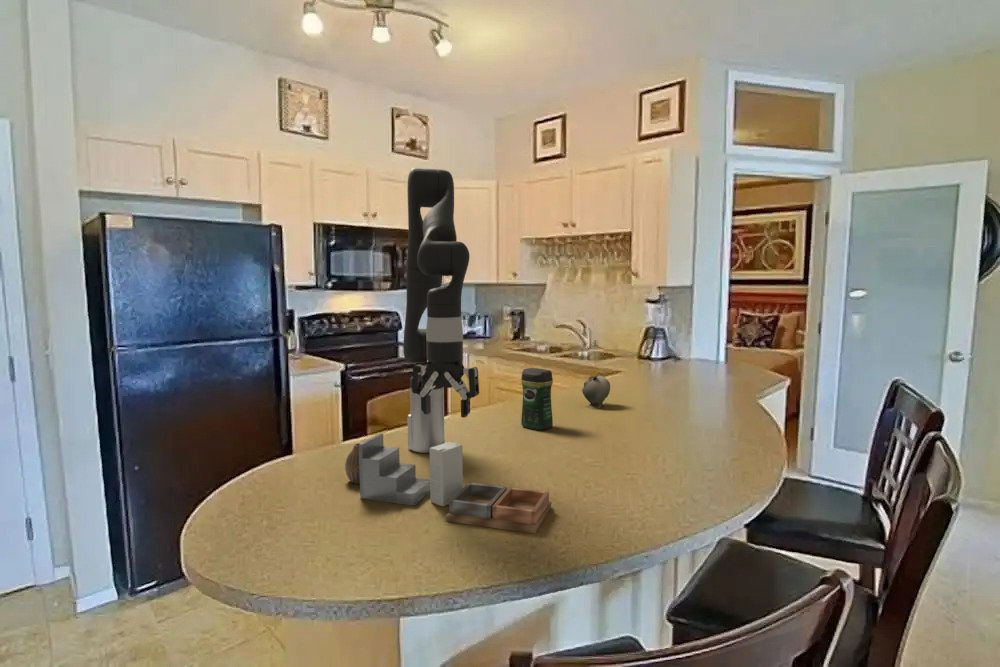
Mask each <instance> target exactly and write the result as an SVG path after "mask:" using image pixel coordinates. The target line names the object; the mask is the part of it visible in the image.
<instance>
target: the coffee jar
mask: <svg viewBox="0 0 1000 667" xmlns="http://www.w3.org/2000/svg"><path fill="white" fill-rule="evenodd" d="M553 378H554V377H553V373H552V371H551V370H548V369H543V368H538V367H537V368H536V367H530V368H523V370H522V373H521V378H520V379H521V381H520V382H521V386H522V406H521V420H520V423H521V426H522V427H523V428H527V429H531V430H537V431H540V430H548V429H551V428H552V427H553V424H554V422H553V420H554V419H553V409H552V394H551V393H552V386H553V383H554V379H553Z"/></svg>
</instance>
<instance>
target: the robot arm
mask: <svg viewBox="0 0 1000 667" xmlns="http://www.w3.org/2000/svg"><path fill="white" fill-rule="evenodd" d="M422 208H430V209H429V210H428V212H427V213H426V214H425V216H424V218H423V216H422V214H421V213H422V212H421V209H422ZM454 214H455V184H454V178H453V175H452V173H451V172H450V171H449V170H446V169H439V168H438V169H437V168H436V169H435V168H423V167H421V168H420V167H413V168H411V169H410V171H409V173H408V176H407V217H408V218H407V219H408V220H407V221H408V222H407V224H408V226H407V227H408V234H407V235H408V240H407V256H406V257H407V258H406V307H405V308H406V309H405V319H404V320H405V321H404V322H405V323H404V332H403V344H402V345H403V349H402V350H403V356H404V359H405V361H406V362H407V363H410V364H417V365H414V366H413V367H412V376H411V377H410V378H409V398H410V399H409V402H410V403H409V405H410V406H409V407H410V409H409V410H410V412H409V413H410V414H407V416H406V417H407V419H406V420H407V449H408V450H410V451H413V452H415V453H425V454H426V453H429V454H430V448H431V447H435V446H438V445H441V444H444V443H446V440H445V398H444V397H445V396H444V395H445V390H444V388H446V389H447V388H448V389H451V388H453V389H454V391H455V392H456V393H457V394H458V395H459V397H460V398H461V399H460V417H461V418H467V417H468V415H470V413H471V399H472V398H475V397H477V396H479V394H480V382H479V380H480V379H479V369H478V367H476V366H474V367H473V366H472V367H465V366H464V341H463V340H464V330H463V329H464V328H463V321H462V293H463V288H464V287H463V286H464V282H465V277H466V274H467V271H468V267H469V263H470V251H469V248H468V247H467V245H466V244H465V243H464V242H462V241H457V240H458V238H457V232H456V227H455V218H454V216H455V215H454ZM443 277H451V279H450V281H449V283H448V284H446V285H443V286H442V283H443ZM425 311H426V315H427V316H426V317H427V318H426V328H419V326H420V322H421V318H422V317H423V314H424V313H425ZM421 363H423V364H426V365H423V364H421ZM464 375H465V376H466V379H468V387H469V388H468V387H467V384H466V383H465V381H464V380H463V376H464Z"/></svg>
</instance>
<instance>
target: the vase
mask: <svg viewBox="0 0 1000 667" xmlns="http://www.w3.org/2000/svg"><path fill="white" fill-rule="evenodd" d="M360 443H361V442H359V443H355V444H354V445H353V447H352V450H350V452H349V453H348V455H347V457H346V460H345V464H344V469H345V470H344V471H345V475H346V477H347V478H348V480H349V481H351V483H353V484H355V485H360V469H359V444H360Z"/></svg>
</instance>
